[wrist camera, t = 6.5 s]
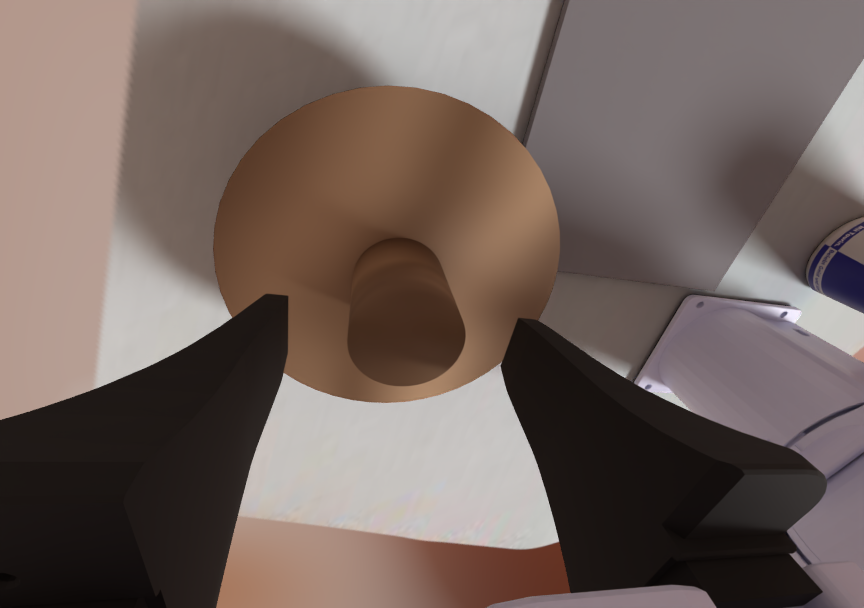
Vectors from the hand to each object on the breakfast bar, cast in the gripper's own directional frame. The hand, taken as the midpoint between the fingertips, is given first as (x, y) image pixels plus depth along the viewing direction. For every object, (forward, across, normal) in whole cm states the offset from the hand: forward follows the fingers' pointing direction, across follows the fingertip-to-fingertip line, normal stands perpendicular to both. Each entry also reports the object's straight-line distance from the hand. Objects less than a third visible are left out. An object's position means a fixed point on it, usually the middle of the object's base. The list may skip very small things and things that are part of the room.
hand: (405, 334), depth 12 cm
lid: (+4, 0, 0) cm, 4 cm away
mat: (+9, -13, -7) cm, 17 cm away
